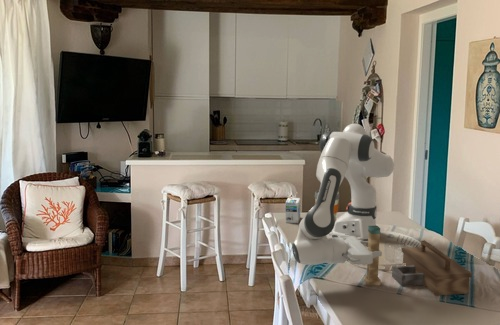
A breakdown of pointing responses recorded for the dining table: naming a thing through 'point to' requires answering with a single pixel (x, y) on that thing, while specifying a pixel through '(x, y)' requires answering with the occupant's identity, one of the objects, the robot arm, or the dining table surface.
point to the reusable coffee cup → (334, 204)
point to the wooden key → (373, 268)
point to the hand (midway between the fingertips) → (375, 248)
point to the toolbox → (432, 271)
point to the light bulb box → (292, 210)
